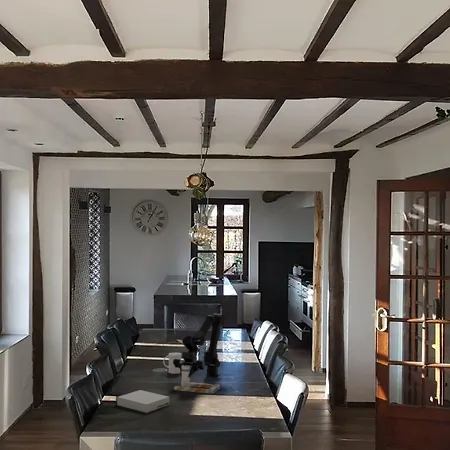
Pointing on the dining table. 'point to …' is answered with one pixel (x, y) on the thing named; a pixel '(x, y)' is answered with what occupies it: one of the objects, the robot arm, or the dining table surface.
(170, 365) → the mug
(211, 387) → the beige u-shaped frame
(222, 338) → the dining table surface
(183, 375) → the grey capped post
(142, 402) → the disc drive
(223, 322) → the robot arm
